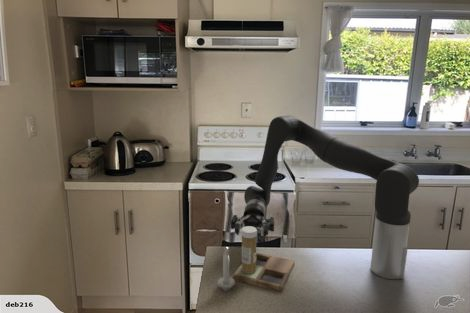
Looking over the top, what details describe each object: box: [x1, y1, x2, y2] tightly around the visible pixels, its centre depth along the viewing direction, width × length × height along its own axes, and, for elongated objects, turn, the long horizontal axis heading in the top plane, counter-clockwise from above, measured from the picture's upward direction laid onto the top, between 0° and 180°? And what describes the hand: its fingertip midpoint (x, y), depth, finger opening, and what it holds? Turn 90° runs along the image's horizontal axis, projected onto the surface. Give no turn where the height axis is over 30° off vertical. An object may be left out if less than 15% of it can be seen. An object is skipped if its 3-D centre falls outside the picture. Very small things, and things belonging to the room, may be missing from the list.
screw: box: [217, 246, 236, 292], centre depth 95 cm, size 13×5×5 cm
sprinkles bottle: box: [240, 226, 258, 274], centre depth 100 cm, size 5×5×13 cm
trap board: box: [232, 252, 295, 293], centre depth 104 cm, size 15×15×2 cm
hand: (251, 233), depth 106 cm, fingers open, 8 cm apart
